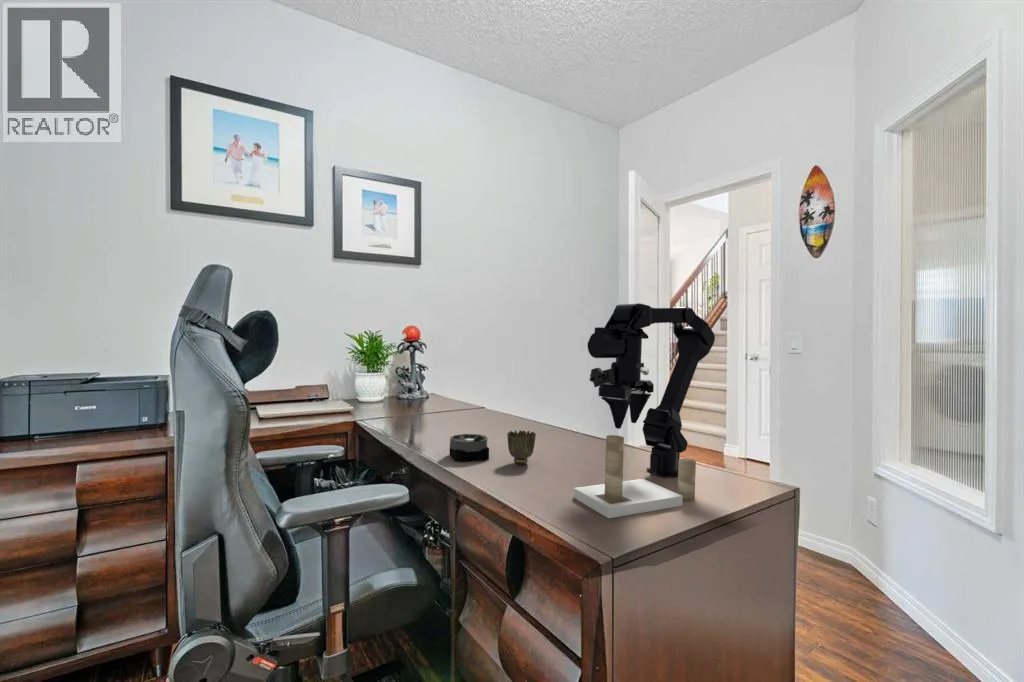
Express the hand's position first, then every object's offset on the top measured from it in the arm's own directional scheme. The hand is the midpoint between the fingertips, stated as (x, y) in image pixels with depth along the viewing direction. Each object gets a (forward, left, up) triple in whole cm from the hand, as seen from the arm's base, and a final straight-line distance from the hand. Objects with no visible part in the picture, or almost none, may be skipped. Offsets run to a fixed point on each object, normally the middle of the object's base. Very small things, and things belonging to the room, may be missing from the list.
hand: (626, 425), depth 111 cm
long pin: (+13, +13, -13) cm, 23 cm away
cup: (+16, -22, -13) cm, 30 cm away
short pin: (-5, +14, -13) cm, 20 cm away
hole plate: (+8, +11, -13) cm, 19 cm away
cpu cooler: (+26, -32, -14) cm, 44 cm away
